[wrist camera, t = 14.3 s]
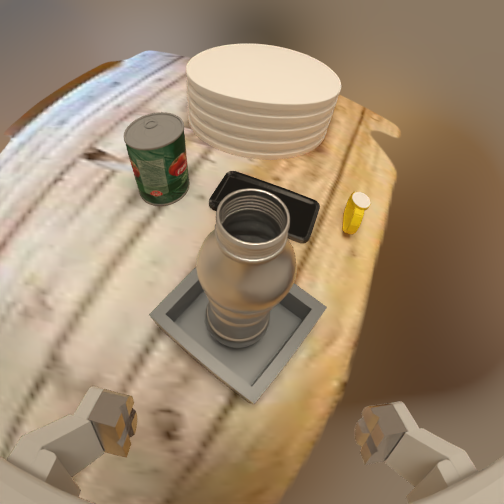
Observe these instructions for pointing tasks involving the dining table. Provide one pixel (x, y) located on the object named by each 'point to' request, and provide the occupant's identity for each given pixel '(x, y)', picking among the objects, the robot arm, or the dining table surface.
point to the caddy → (245, 358)
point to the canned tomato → (158, 157)
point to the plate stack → (260, 100)
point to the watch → (355, 212)
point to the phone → (297, 205)
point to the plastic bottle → (246, 266)
